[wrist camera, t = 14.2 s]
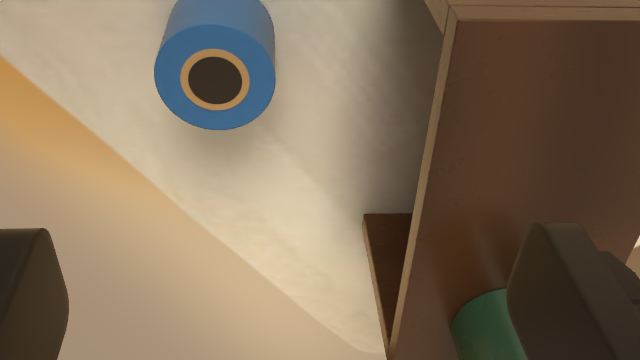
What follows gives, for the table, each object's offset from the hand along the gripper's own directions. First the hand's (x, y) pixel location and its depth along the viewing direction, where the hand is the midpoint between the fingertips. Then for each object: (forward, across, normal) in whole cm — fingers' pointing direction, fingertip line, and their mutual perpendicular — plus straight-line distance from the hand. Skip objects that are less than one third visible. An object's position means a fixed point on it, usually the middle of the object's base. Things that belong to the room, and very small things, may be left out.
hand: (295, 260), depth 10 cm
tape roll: (+23, +2, +6) cm, 24 cm away
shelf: (+23, -11, +10) cm, 27 cm away
